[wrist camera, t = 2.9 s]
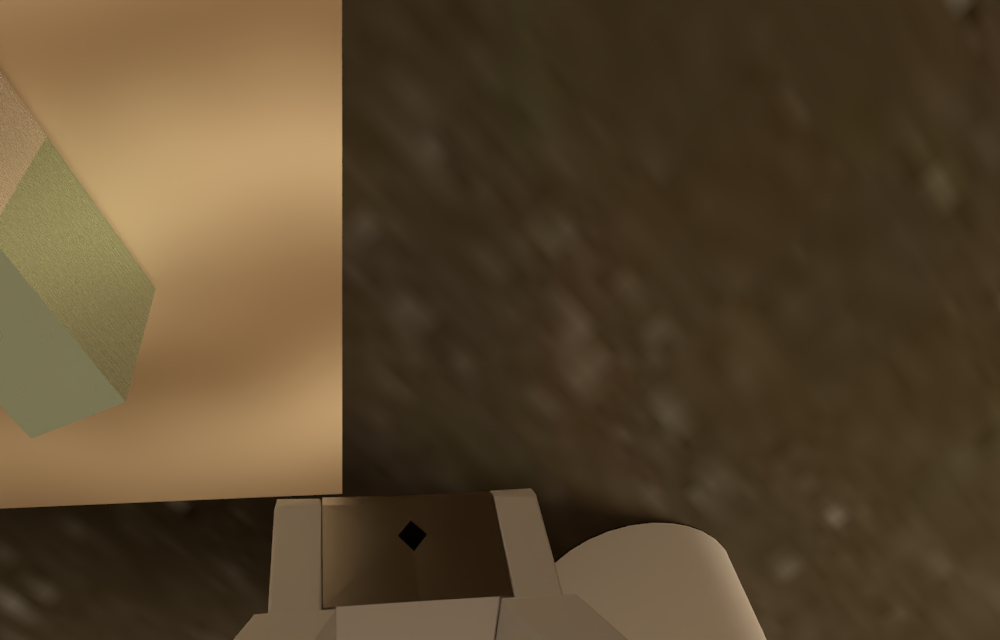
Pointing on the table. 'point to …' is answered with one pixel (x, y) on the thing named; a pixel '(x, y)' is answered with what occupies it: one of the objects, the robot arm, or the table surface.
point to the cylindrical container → (660, 584)
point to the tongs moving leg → (60, 286)
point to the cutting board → (198, 241)
